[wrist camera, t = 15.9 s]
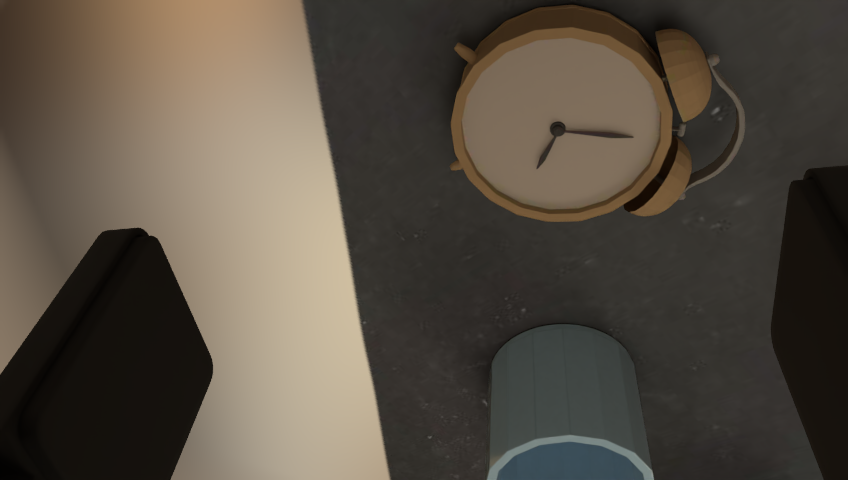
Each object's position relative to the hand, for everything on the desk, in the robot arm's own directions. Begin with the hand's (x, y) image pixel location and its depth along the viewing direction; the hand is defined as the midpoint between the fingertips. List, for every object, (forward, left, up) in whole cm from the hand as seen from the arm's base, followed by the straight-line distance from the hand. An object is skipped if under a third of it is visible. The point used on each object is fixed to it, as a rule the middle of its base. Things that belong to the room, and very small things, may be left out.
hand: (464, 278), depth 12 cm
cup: (+30, -16, -30) cm, 45 cm away
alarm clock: (+13, -3, -30) cm, 33 cm away
